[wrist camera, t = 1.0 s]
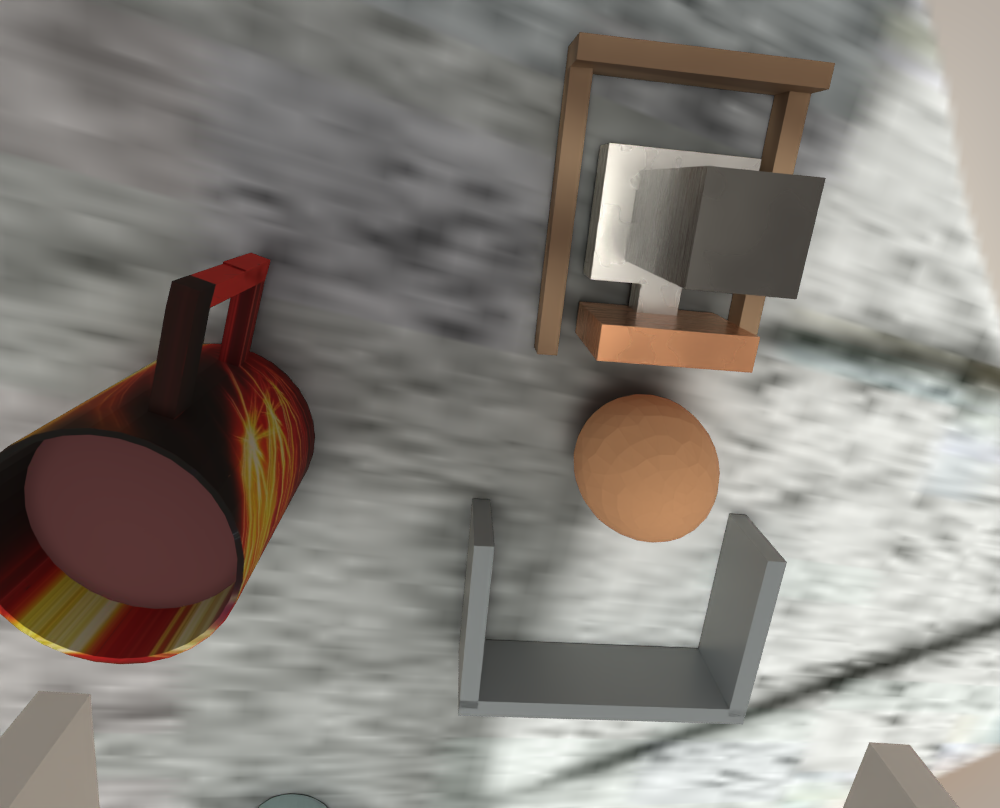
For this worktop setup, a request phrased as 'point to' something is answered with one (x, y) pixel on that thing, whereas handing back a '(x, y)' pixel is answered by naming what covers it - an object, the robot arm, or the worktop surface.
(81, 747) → the robot arm
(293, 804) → the cup
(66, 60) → the worktop surface
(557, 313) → the rail
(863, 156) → the worktop surface
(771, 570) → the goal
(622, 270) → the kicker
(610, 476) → the egg
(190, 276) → the mug
